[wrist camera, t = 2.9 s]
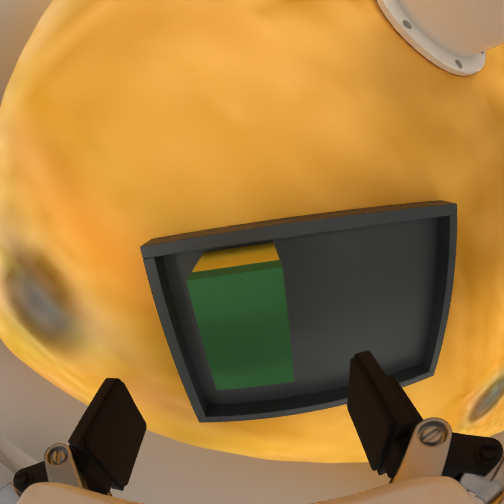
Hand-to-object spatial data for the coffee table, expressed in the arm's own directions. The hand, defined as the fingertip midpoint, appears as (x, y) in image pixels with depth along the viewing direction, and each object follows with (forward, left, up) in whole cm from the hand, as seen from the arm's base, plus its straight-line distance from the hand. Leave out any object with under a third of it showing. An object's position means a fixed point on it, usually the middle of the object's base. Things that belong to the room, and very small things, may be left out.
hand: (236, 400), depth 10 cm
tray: (+3, +5, -10) cm, 11 cm away
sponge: (0, 0, -9) cm, 9 cm away
